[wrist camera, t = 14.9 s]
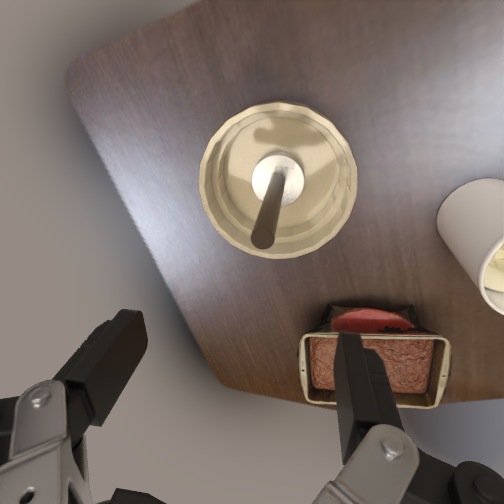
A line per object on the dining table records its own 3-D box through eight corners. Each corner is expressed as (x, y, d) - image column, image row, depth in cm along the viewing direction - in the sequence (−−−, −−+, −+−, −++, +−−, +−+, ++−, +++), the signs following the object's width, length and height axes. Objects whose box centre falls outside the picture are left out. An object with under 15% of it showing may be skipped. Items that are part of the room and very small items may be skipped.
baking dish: (308, 281, 44) (296, 334, 36) (452, 301, 39) (475, 366, 31) (305, 351, 51) (294, 406, 43) (425, 374, 46) (437, 442, 38)
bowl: (188, 171, 37) (169, 185, 31) (284, 64, 30) (280, 60, 25) (275, 257, 40) (271, 282, 35) (377, 178, 34) (391, 195, 29)
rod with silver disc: (244, 174, 35) (204, 235, 21) (280, 138, 33) (263, 180, 19) (277, 209, 37) (261, 288, 22) (315, 177, 34) (323, 243, 20)
